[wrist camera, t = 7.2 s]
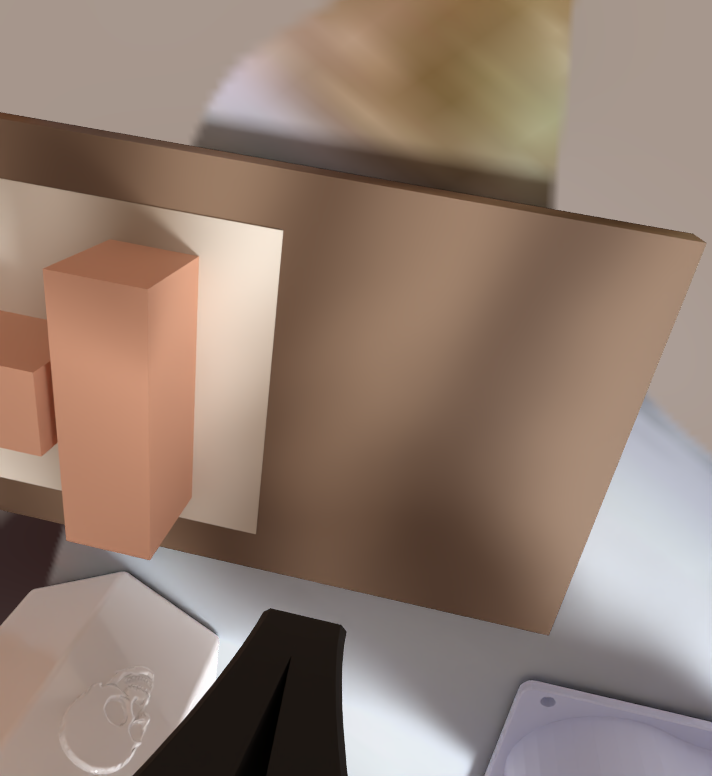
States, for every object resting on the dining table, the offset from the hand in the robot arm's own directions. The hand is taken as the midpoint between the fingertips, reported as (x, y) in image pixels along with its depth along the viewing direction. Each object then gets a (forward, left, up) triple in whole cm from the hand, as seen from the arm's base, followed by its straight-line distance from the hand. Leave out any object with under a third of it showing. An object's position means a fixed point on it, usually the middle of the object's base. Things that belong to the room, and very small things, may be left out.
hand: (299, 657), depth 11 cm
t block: (+9, 0, -8) cm, 12 cm away
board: (+3, 0, -9) cm, 10 cm away
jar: (+8, +13, -10) cm, 18 cm away
